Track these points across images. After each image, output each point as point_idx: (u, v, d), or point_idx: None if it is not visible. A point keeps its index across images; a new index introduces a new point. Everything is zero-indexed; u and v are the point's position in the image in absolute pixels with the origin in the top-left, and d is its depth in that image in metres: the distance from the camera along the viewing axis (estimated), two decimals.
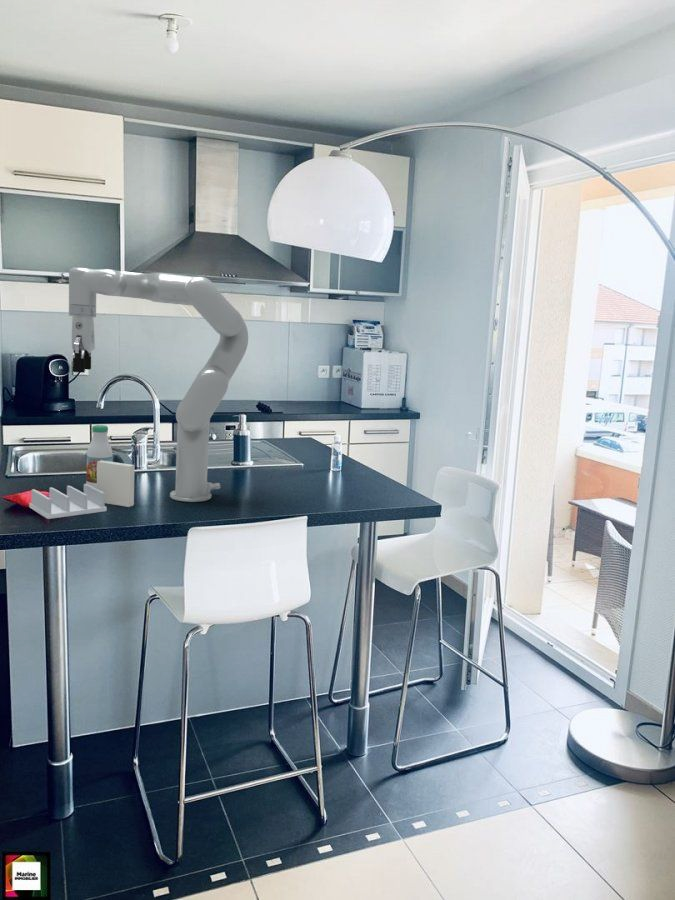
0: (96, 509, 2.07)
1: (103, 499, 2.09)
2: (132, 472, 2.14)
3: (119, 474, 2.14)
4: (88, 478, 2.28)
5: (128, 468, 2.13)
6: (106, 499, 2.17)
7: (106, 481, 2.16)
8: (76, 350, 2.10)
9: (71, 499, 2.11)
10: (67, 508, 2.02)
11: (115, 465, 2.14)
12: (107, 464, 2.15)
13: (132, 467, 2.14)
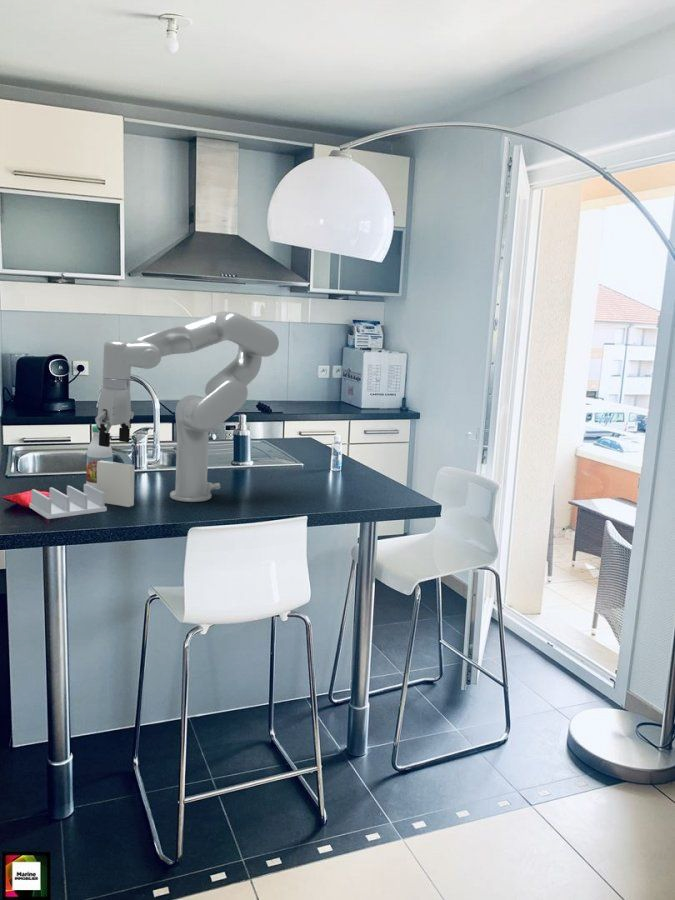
0: (96, 509, 2.07)
1: (103, 499, 2.09)
2: (132, 472, 2.14)
3: (119, 474, 2.14)
4: (88, 478, 2.28)
5: (128, 468, 2.13)
6: (106, 499, 2.17)
7: (106, 481, 2.16)
8: None
9: (71, 499, 2.11)
10: (67, 508, 2.02)
11: (115, 465, 2.14)
12: (107, 464, 2.15)
13: (132, 467, 2.14)
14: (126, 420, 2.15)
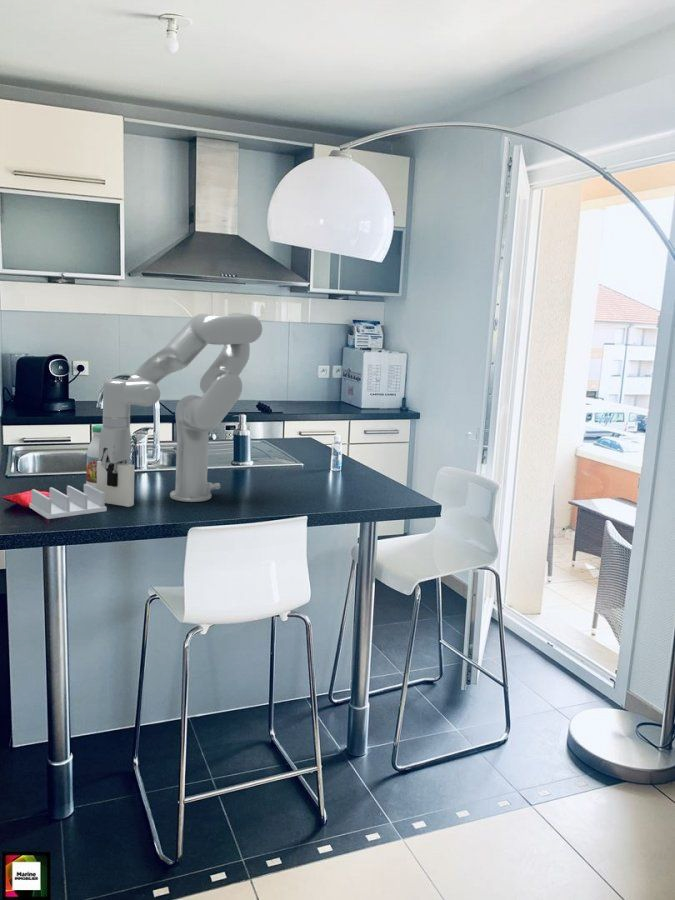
0: (96, 509, 2.07)
1: (103, 499, 2.09)
2: (132, 472, 2.14)
3: (119, 474, 2.14)
4: (88, 478, 2.28)
5: (128, 468, 2.13)
6: (106, 499, 2.17)
7: (106, 481, 2.16)
8: None
9: (71, 499, 2.11)
10: (67, 508, 2.02)
11: None
12: None
13: (132, 467, 2.14)
14: (127, 457, 2.17)
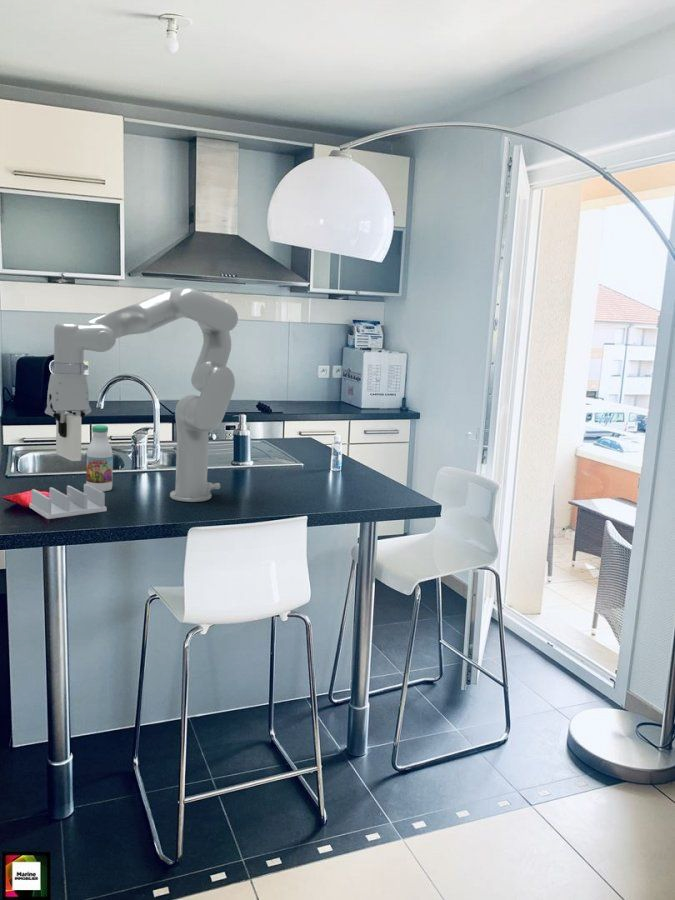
0: (96, 509, 2.07)
1: (103, 499, 2.09)
2: (77, 424, 2.00)
3: (67, 425, 2.01)
4: (88, 478, 2.28)
5: (72, 419, 1.99)
6: (61, 451, 2.06)
7: None
8: None
9: (71, 499, 2.11)
10: (67, 508, 2.02)
11: (65, 415, 2.02)
12: None
13: (77, 419, 2.00)
14: (80, 407, 2.03)
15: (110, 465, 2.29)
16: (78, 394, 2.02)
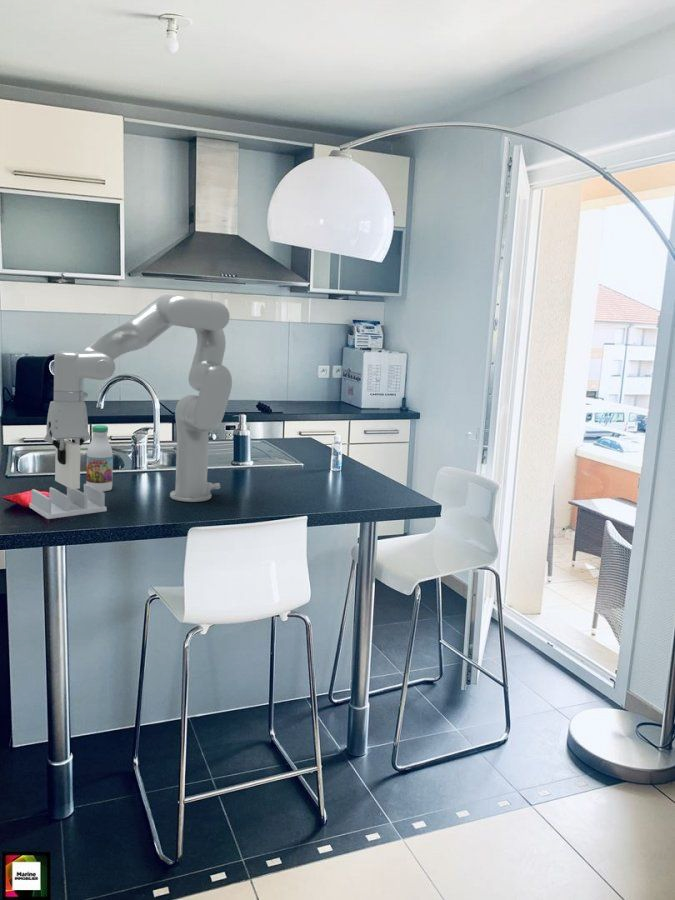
0: (96, 509, 2.07)
1: (103, 499, 2.09)
2: (76, 452, 2.01)
3: (66, 453, 2.03)
4: (88, 478, 2.28)
5: (71, 447, 2.00)
6: (59, 479, 2.07)
7: None
8: None
9: (71, 499, 2.11)
10: (67, 508, 2.02)
11: (64, 443, 2.03)
12: None
13: (76, 447, 2.01)
14: (79, 435, 2.04)
15: (110, 465, 2.29)
16: (77, 422, 2.03)
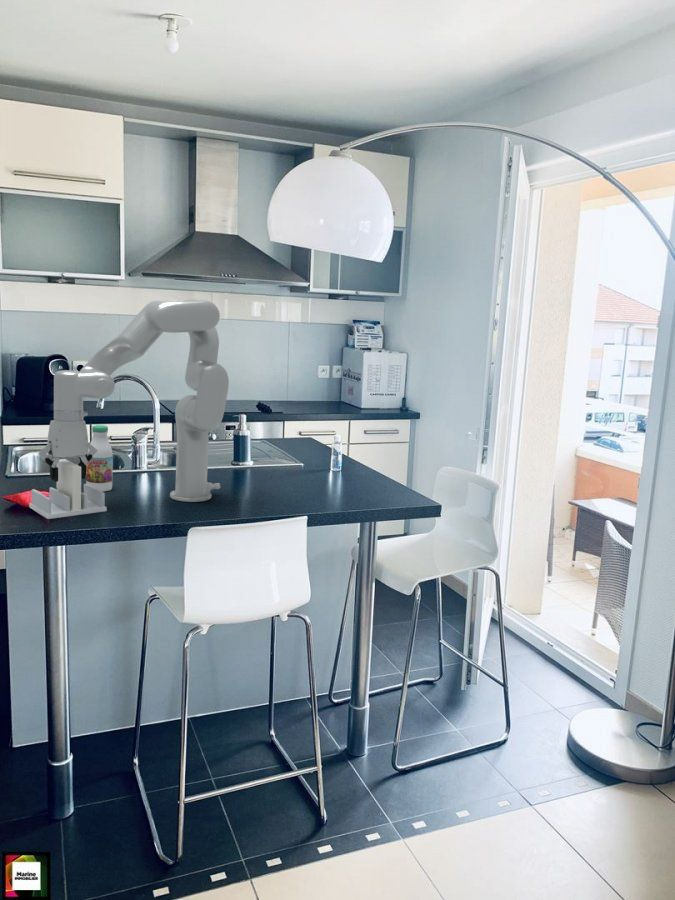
0: (96, 509, 2.07)
1: (103, 499, 2.09)
2: (77, 474, 2.02)
3: (67, 475, 2.04)
4: (88, 478, 2.28)
5: (71, 469, 2.02)
6: None
7: (61, 481, 2.08)
8: None
9: None
10: (67, 508, 2.02)
11: (65, 465, 2.05)
12: (61, 463, 2.07)
13: (77, 468, 2.02)
14: (80, 453, 2.05)
15: (110, 465, 2.29)
16: (78, 440, 2.04)
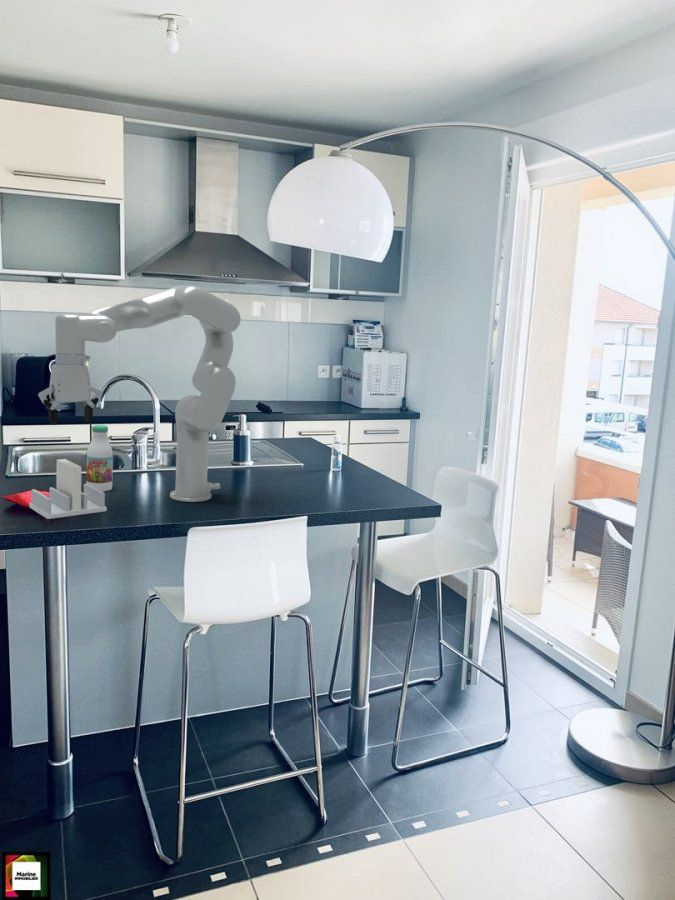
0: (96, 509, 2.07)
1: (103, 499, 2.09)
2: (77, 474, 2.02)
3: (67, 475, 2.04)
4: (88, 478, 2.28)
5: (71, 469, 2.02)
6: None
7: (61, 481, 2.08)
8: None
9: None
10: (67, 508, 2.02)
11: (65, 465, 2.05)
12: (61, 463, 2.07)
13: (77, 468, 2.02)
14: (83, 398, 2.03)
15: (110, 465, 2.29)
16: (80, 385, 2.02)
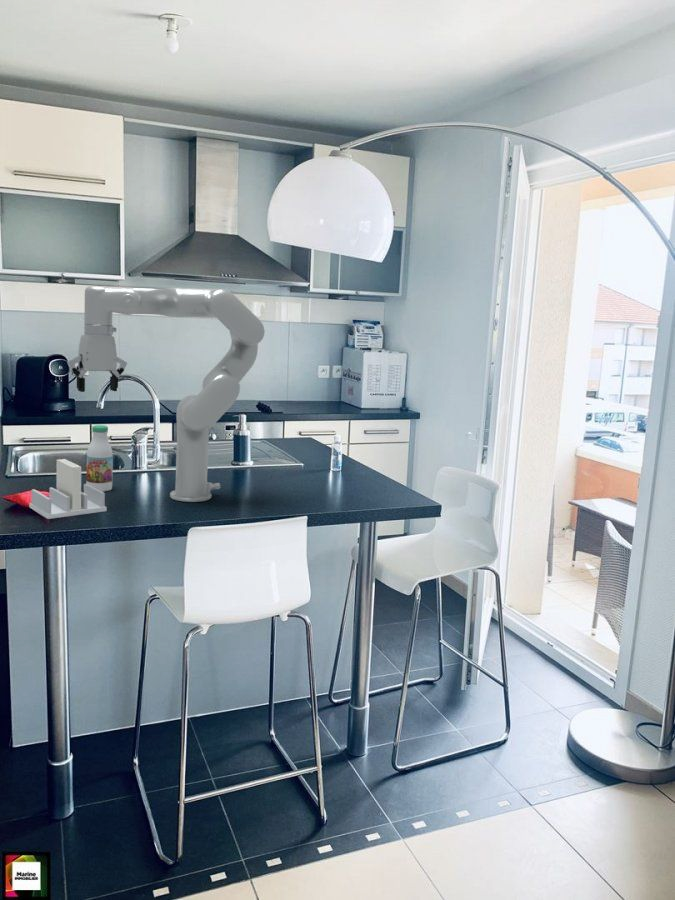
0: (96, 509, 2.07)
1: (103, 499, 2.09)
2: (77, 474, 2.02)
3: (67, 475, 2.04)
4: (88, 478, 2.28)
5: (71, 469, 2.02)
6: None
7: (61, 481, 2.08)
8: None
9: None
10: (67, 508, 2.02)
11: (65, 465, 2.05)
12: (61, 463, 2.07)
13: (77, 468, 2.02)
14: (109, 368, 2.13)
15: (110, 465, 2.29)
16: (107, 355, 2.11)
